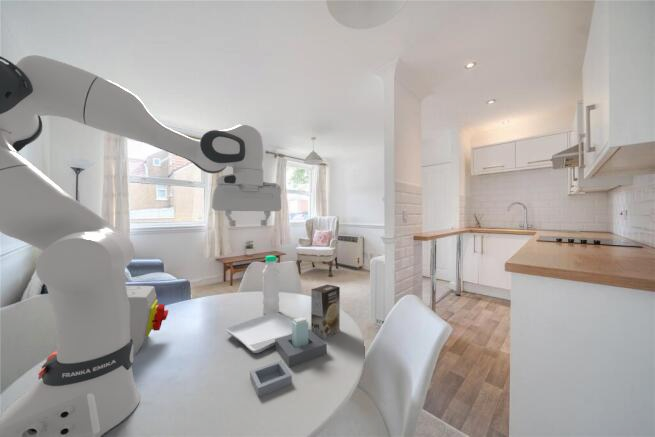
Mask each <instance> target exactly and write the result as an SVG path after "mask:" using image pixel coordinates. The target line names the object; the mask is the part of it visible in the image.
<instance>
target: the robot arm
mask: <svg viewBox="0 0 655 437" xmlns="http://www.w3.org/2000/svg"><path fill="white" fill-rule="evenodd" d="M5 62H6V63H5ZM7 63H8V64H7ZM43 116H53V117H54V116H55V117H60V118H63V119H64V118H65V119H69V120H72V121H74V122H77V123H80V124H82V125H85V126H88V127H91V128H93V129H96V130H100V131H103V132H106V133H110V134H113V135H117V136H120V137H124V138H127V139H130V140H134V141H137V142H140V143H142V144H143V143H144V144H146V145H150V146H151V147H155V148H157V149H159V150H162V151H165V152H168V153H170V154H172V155H175V156H178V157H181V158H183V159H186V160H187V161H190V162H191V163H192V164H193V166H195V167H197V168H198V169H199V170H201V171H202V172H205V173H207V174H219V173H221V172H223V171H225V169H226V168H227V167H231V168H232V173H231V174H225V175H221V176H219V177H218V178H216V185H217V186H216V187H215V188H214V190H213V192H212V193H213V194H212V200H211V208H212V209H213V211H216V212H217V211H223V212H224V211H225V212H224V215H225V216H226V218H227V220H228V221H229V224H228V225H229V227H236V220H233V219H232V216H231V215H232V212H236V211H237V212H263V215H264V218H263V219H261V220H260V226H261V227H265V226H266V227H267V226H268V220H269V218H270V216H271V212H280V211H281V209H282V200H281V199H282V198H281V194H282V189H281V186H280V185H278V184H277V183H276V182H267V181H264V168H263V161H264V146H263V138H262V136H261V133H260V131H258V129H257V128H255V127H254V126H250V125H247V124H238V125H236V126H234V127H231V128H228V129H222V130H218V129H212V130H209V131H206V132H205V133H204V134H203V135H202V137H200V139H199V140H198V139H194V138H191V137H189V136H187V135H185V134H182V133H180V132H178V131H176V130H173V129H171V128H169V127H167V126H166V125H164V124H162V123H161V122H160V121H158V120H157V119H156V118H155V117H154V116H153V115H152V114H151V113H150V111H149V110H148V109H147V107H146V106H145V104H144V103H143V101H142V100H141V99H140V98H139V97H138V96H137V95H135V94H134V93H132V92H131V91H129V90H128V89H126V88H124V87H122V86H120V85H119V84H117V83H115V82H114V81H113V82H112V81H111V80H108V79H106V78H104V77H102V76H99V75H97V74H94V73H92V72H90V71H87V70H85V69H83V68H80V67H77V66H74V65H72V64H70V63H69V64H68V63H66V62H62V61H59V60H56V59H54V58H53V59H52V58H48V57H46V56H41V55H35V54H34V55H27V56H24V57H22V58H21V59H19V61H18V62H16V64H14V63H13V62H12V61H10V60H8V59H7V58H5V57H3V56H0V233H2V234H3V235H5V236H8V237H10V238H14V239H17V240H19V241H21V242H24V243H26V244H28V245H31V246H33V247H34V248H37V249H39V250H41V251H42V252H41V253H40V255H39V256H38V258H37V261H36V264H35V271H36V275H37V277H38V279H39V281H40V282H41V283H42V284H44V285H45V286H46V289H47V293H48V296H49V299H50V304H51V306H52V309H53V313H54V317H55V318H54V319H55V326H56V327H55V329H56V330H55V332H56V334H55V335H56V337H55V338H56V345H55V346H56V350H55V351H53V352H52V353H51V354H50V355H49V356H48V357H47V358H46V361H45V362H44V363H43V364H42V366H41V370H39V371H38V373H37V375H38V377H37V379H38V380H40V381H39V382H37V383H36V384H34V385H33V386H32V387H31V388H29V389H28V390H27V391H26V392H24V393H23V394H22V395H21V396H19V397H18V398H17V399H16V400H14V401H13V402H12V403H11V404H10V405H9V406H8V407H7V408H6V409H4V411H3V413H2V414H1V415H0V437H102V436H103V435H104V434H105V433H107V432H108V431H110V430H111V429H113V428H114V427H116V426H117V425H119V424H120V423H122V421H124V420H125V419H126V418H128V417H129V416H130V415H131V414H132V413H133V412H134V410H135V409H136V408H137V407H138V404H139V403H140V399H141V396H140V393H139V391H138V389H137V387H136V382H135V379H134V373H133V367H132V365H133V362H134V355H133V353H134V350H133V340H132V338H131V337H130V303H129V301H128V296H127V290H126V286H127V283H126V273H125V272H126V268H127V267H128V266H129V265H130V263H131V262H132V261H133V258H134V256H135V246H134V245H133V242H132V240H131V239H130V238H129V237H128V236H126V234H124V233H123V232H121V231H120V230H119V229H117V228H116V227H115V226H113V225H112V224H110V222H108V221H106V220H105V218H103V217H101V216H100V215H98V214H97V213H95V212H94V211H93V210H91V209H90V208H88V207H87V206H85V205H84V204H82V203H81V202H80V201H78V200H77V199H76V198H74V197H73V196H72V195H70V194H69V193H68V192H66V191H65V190H64V189H63V188H61V187H60V186H59V185H58V184H57V183H55V182H54V181H53V180H52V179H51V178H49V177H48V176H47V175H45V174H44V173H43V172H42V171H41V170H39V169H38V168H37V166H34V164H33V163H31V161H28V160H27V159H26V158H25V157H23V156H22V155H21V154H20V151H21V150H22V149H23V148H25V147H26V146H27V145H29V144H31V143H33V142H34V141H36V140H37V139H38V138H39V137H40V135H41V134H42V132H43V120H42V118H41V117H43Z"/></svg>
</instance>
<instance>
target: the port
mask: <svg viewBox="0 0 655 437" xmlns="http://www.w3.org/2000/svg"><path fill="white" fill-rule="evenodd" d="M287 335H288V336H287ZM287 335H284V336H280V337H277V338H274V341H275V345H274V350H275V351H276V352H277V354H278V355H279V356H280V358H281V360H283V362H284V363H285V365H286V367H288V368H292V367H294V366H297V365H301V364H303V363H306V362H308V361H309V362H310V361H312V360H314V359H316V358H320V357H323V356H326V355H327V354H328V352H327V351H328V349H327V345H328V344H327V342H325V341H324V339H322V338H320V337H318V336H317V335H316V334H314V333H313V332H312V331H311V328H310V329H309V328H308V344H307V345H304V346H301V347H298V348H294V347H293V346H292V333H291V335H290V334H287Z"/></svg>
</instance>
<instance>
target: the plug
mask: <svg viewBox="0 0 655 437" xmlns="http://www.w3.org/2000/svg"><path fill="white" fill-rule="evenodd" d="M293 320H294V321H292V333H291V334H292V346H293V347H294V348H298V347H301V346H304V345H307V344H308V330H309V321H308V320H307V319H306V318H305V316H301V317H297V318H293Z"/></svg>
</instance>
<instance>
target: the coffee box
mask: <svg viewBox="0 0 655 437" xmlns="http://www.w3.org/2000/svg"><path fill="white" fill-rule="evenodd" d="M340 288H341V287H340V286H338V285H332V284H325V285H322V286H321V285H320V286H318V287H314V288H311V290H310V291H311V297H310V299H311V302H310V303H311V310H310V312H311V314H310V315H311V317H310V318H311V319H310V321H311V322H310V323H311V324H310V326H311V327H310V330H311V331H312V332H313V333H314V334H316V335H317V336H318V337H319V338H320V339H322V340H325V339H327V338H329V337H330V336H332V335H333V334H336V333H337V332H339V331H340V326H341V324H340V316H341V315H340V314H341V313H340V312H341V310H340V309H341V308H340V307H341V306H340V305H341V302H340V301H341V300H340V299H341V298H340V297H341V296H340V292H341V291H340Z"/></svg>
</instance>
